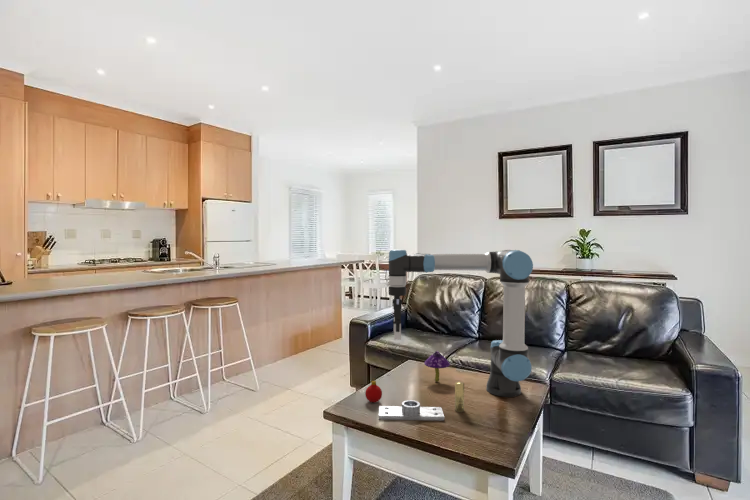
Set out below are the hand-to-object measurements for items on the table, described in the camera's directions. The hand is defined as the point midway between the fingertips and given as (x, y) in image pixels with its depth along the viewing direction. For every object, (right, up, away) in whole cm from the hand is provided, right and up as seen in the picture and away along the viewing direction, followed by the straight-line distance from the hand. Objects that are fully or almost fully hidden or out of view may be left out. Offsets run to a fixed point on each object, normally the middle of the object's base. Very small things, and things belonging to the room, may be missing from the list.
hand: (397, 335), depth 172 cm
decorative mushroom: (+21, -28, +24) cm, 42 cm away
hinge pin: (+25, -28, -9) cm, 39 cm away
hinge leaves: (+5, -28, -14) cm, 32 cm away
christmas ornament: (-10, -28, -1) cm, 30 cm away
